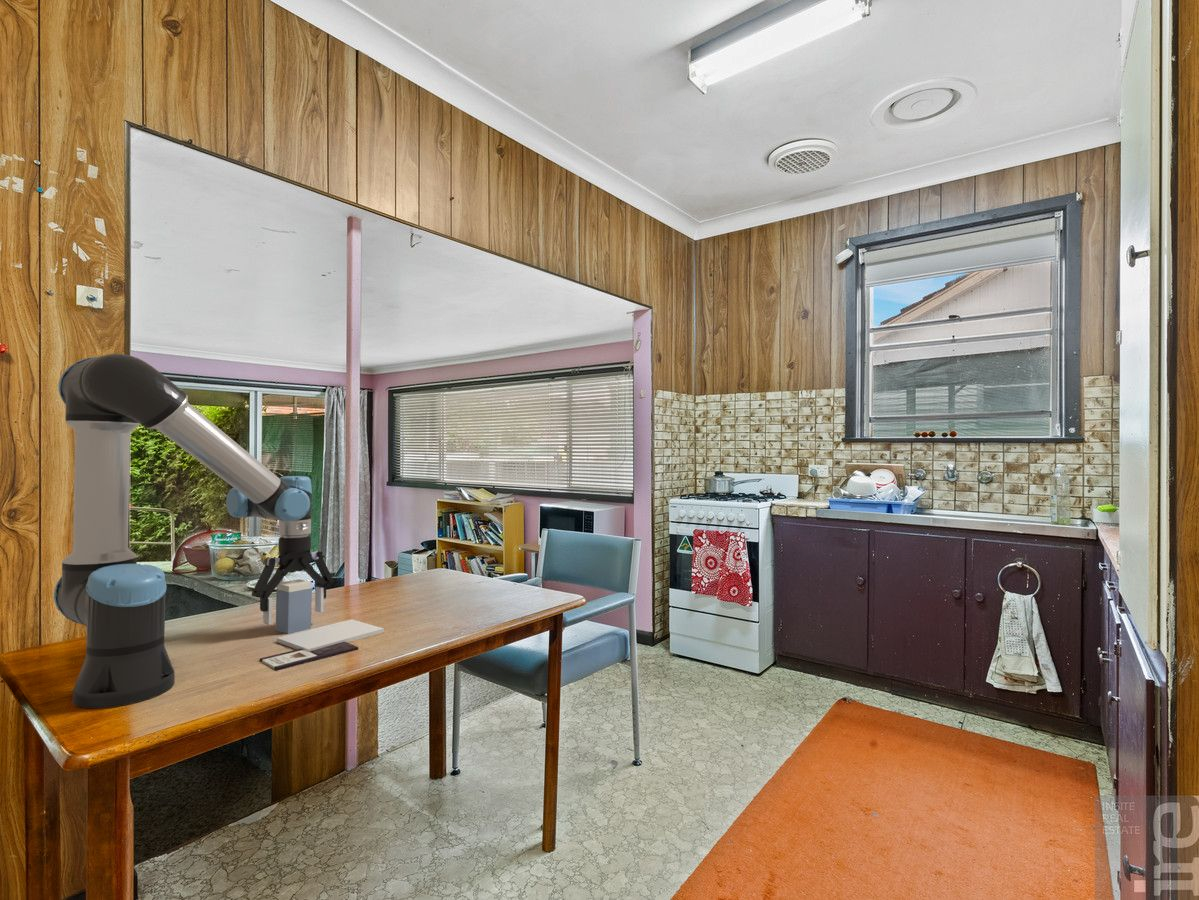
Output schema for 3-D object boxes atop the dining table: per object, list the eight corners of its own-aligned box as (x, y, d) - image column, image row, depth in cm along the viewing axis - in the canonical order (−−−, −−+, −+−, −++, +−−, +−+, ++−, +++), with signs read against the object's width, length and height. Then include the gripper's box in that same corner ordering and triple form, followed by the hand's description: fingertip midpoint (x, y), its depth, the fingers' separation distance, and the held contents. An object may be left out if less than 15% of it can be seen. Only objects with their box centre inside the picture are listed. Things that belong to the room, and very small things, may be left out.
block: (288, 634, 150) (288, 586, 150) (275, 629, 153) (276, 583, 153) (311, 628, 155) (311, 582, 155) (298, 624, 158) (299, 579, 158)
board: (308, 653, 135) (308, 649, 135) (276, 641, 143) (276, 637, 143) (383, 632, 152) (384, 628, 152) (351, 622, 160) (351, 619, 160)
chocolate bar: (358, 647, 139) (277, 668, 125) (358, 651, 139) (277, 672, 125) (339, 639, 144) (259, 658, 131) (339, 643, 144) (259, 662, 131)
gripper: (252, 543, 141) (251, 632, 141) (347, 531, 162) (346, 609, 162) (236, 540, 146) (236, 626, 146) (331, 529, 166) (331, 604, 166)
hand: (294, 617), depth 154 cm, fingers open, 13 cm apart
